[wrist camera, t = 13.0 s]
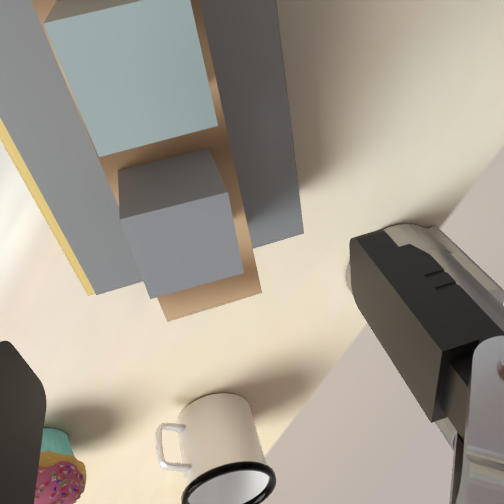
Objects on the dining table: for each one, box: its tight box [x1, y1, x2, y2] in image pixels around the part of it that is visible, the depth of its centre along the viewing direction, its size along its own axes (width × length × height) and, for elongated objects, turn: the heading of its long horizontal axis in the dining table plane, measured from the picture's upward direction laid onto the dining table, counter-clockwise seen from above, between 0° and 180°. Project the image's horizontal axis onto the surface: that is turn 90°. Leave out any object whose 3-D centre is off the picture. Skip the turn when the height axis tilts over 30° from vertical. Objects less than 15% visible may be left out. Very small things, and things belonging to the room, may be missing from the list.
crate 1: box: [43, 0, 218, 157], centre depth 15 cm, size 4×4×4 cm
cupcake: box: [34, 428, 86, 504], centre depth 42 cm, size 9×8×12 cm
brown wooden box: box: [31, 0, 262, 322], centre depth 21 cm, size 21×6×6 cm, turn 10°
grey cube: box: [118, 148, 244, 299], centre depth 19 cm, size 4×4×4 cm
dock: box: [0, 0, 304, 296], centre depth 26 cm, size 16×25×5 cm, turn 10°
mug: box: [156, 393, 276, 504], centre depth 47 cm, size 12×10×9 cm
